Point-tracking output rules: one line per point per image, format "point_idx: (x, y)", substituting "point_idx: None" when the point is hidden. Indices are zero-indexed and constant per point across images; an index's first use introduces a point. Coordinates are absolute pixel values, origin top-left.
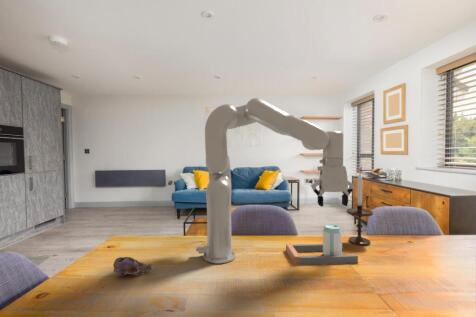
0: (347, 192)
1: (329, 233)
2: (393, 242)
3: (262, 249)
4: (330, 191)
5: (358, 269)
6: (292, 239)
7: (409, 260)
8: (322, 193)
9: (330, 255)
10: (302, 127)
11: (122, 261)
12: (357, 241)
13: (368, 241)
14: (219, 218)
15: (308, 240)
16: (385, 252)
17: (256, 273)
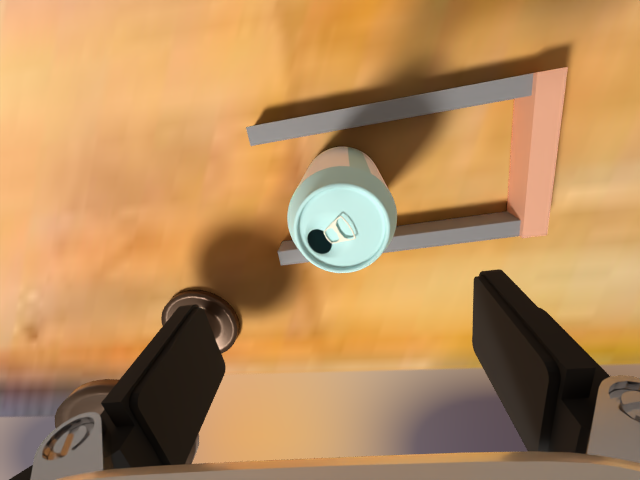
0: (48, 476)
1: (372, 174)
2: (85, 324)
3: (637, 227)
4: (465, 458)
5: (268, 56)
6: (459, 334)
7: (57, 170)
8: (621, 437)
9: (369, 121)
10: None
11: None
12: (208, 316)
13: (168, 318)
14: None
15: (394, 327)
16: (128, 236)
17: None
